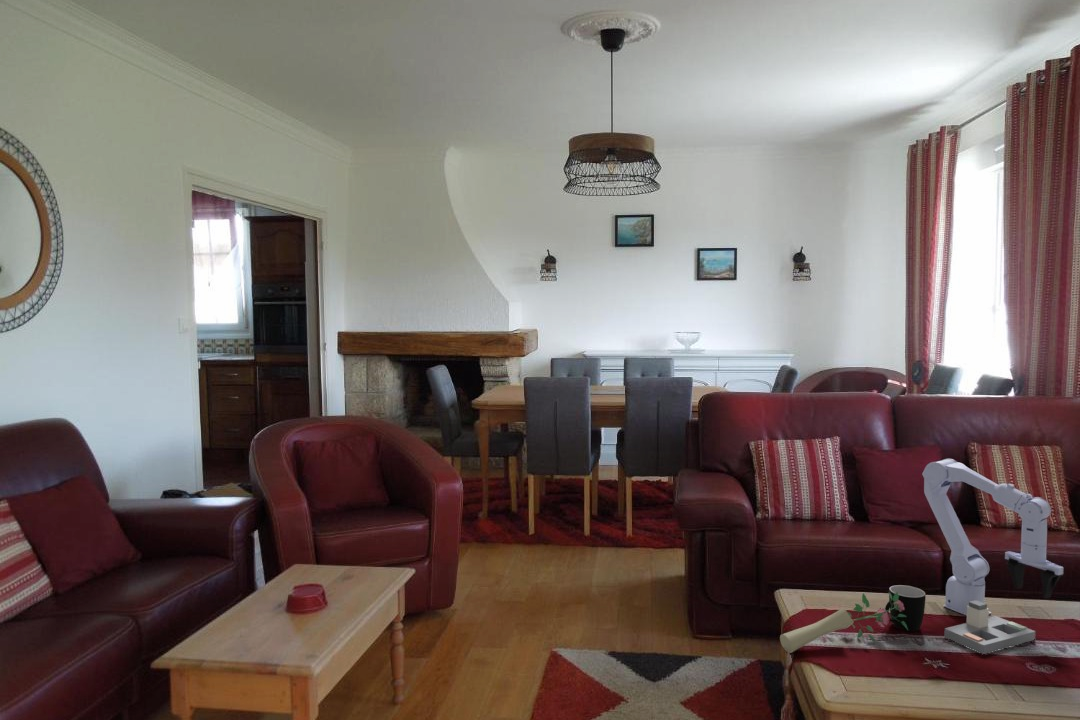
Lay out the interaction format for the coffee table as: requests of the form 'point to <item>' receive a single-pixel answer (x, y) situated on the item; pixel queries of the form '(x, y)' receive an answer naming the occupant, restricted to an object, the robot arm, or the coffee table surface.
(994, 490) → the robot arm
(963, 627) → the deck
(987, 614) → the plug
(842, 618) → the flower vase
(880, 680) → the coffee table surface
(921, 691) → the coffee table surface
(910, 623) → the mug
